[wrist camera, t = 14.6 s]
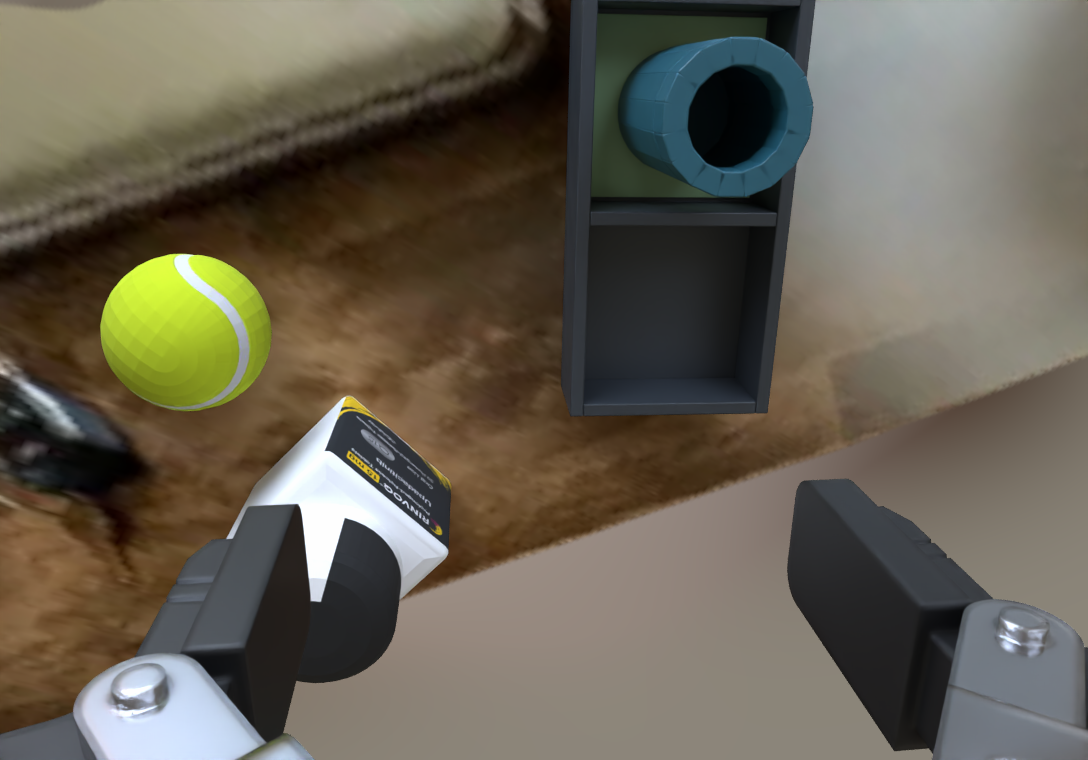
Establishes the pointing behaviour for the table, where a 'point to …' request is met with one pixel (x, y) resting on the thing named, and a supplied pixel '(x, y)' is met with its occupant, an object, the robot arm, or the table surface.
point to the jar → (718, 114)
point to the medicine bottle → (358, 532)
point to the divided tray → (666, 231)
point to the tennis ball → (186, 332)
